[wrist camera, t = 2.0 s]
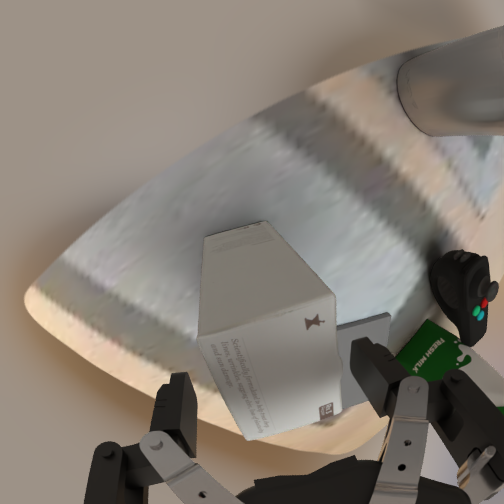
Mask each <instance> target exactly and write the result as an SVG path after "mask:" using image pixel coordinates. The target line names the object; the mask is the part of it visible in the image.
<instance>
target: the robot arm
mask: <svg viewBox="0 0 504 504" xmlns="http://www.w3.org/2000/svg"><path fill="white" fill-rule="evenodd" d="M397 86H398V93H399V96H400V100H401V103H402V105H403V107H404V110H405V111H406V113H407V115H408V116H409V118H410V119H411V120H412V122H413V123H414V124H415V125H416V126H417V127H418V128H419V129H420V130H421V131H423V132H424V133H426V134H428V135H431V136H436V137H443V136H476V135H499V136H504V26H500V27H497V28H493V29H490V30H487V31H484V32H480V33H477V34H475V35H472V36H469V37H466V38H463V39H460V40H457V41H455V42H452V43H450V44H447V45H444V46H442V47H439V48H437V49H435V50H432V51H430V52H427V53H425V54H422V55H420V56H418V57H416V58H413V59H411V60H409V61H407V62H406V63H404V64H403V65H402V67H401V68H400V70H399V73H398V79H397ZM350 370H351V373H352V375H353V377H354V378H355V380H356V381H357V383H358V384H359V386H360V387H361V389H362V391H363V392H364V394H365V395H366V397H367V398H368V400H369V402H370V403H371V405H372V406H373V408H374V410H375V411H376V413H377V414H378V416H379V417H380V418H381V417H384V416H386V415H388V416H389V418H390V419H389V422H388V426H387V430H386V434H385V438H384V441H383V445H382V448H381V451H380V454H379V457H378V460H377V461H374V460H357V459H356V457H355V455H353V456H351V457H347V458H344V459H341V460H338V461H336V462H332V463H330V464H328V465H326V466H324V467H322V468H320V469H318V470H317V471H315V472H313V473H311V474H308V475H292V476H291V475H290V476H275V477H269V478H263V479H257V480H254V483H255V486H252V487H250V488H248V489H246V490H244V491H242V492H241V493H239V494H238V495H237V496H234V495H233V494H231V493H230V492H229V491H228V490H227V489H225V488H224V487H223V486H222V485H221V484H220V483H218V482H217V481H216V480H215V479H214V478H213V477H212V476H211V475H210V474H209V473H208V472H206V471H205V470H204V469H203V468H202V467H201V466H200V465H199V464H197V463H194V462H193V461H192V460H191V459H190V458H196V440H197V438H196V437H197V406H198V405H197V397H196V393H195V391H194V388H193V385H192V383H191V380H190V377H189V375H188V373H187V372H181V373H172V374H171V378H170V383H169V384H163V385H162V386H161V388H160V389H159V390H158V392H157V396H156V401H155V406H154V407H155V408H154V411H153V416H152V421H151V426H150V431H149V433H147V434H145V435H144V436H143V437H142V439H141V440H140V443H138V444H134V445H130V446H126V447H121V446H120V445H119V444H117V443H115V442H111V441H110V442H109V441H108V442H104V443H101V444H100V445H99V446H97V448H96V449H95V451H94V455H93V460H92V463H91V468H90V473H89V477H88V483H87V488H86V494H85V499H84V504H148V489H149V485H154V484H158V483H162V482H166V484H167V485H168V486H169V487H170V488H171V490H172V491H173V492H174V493H175V494H176V495H177V496H178V498H180V500H181V501H182V502H183V503H184V504H479V503H480V502H482V501H483V500H488V499H490V498H491V497H493V496H494V495H495V494H497V493H498V492H499V491H500V490H501V489H502V488H504V415H503V414H502V413H501V411H500V410H499V409H498V408H497V407H496V406H495V404H494V403H493V402H492V401H491V400H490V399H489V398H488V397H487V395H486V394H485V393H484V392H483V391H482V390H481V389H480V388H479V387H478V386H477V384H476V383H475V382H474V381H473V380H472V379H471V378H470V377H469V376H468V375H467V374H466V373H465V372H464V371H462V370H460V369H450V370H448V371H446V372H445V373H444V375H443V378H442V379H440V380H435V381H429V382H427V381H426V380H425V379H423V378H421V377H418V376H411V375H410V374H409V373H408V371H407V370H406V369H405V368H404V367H403V366H402V365H401V364H400V362H399V361H398V360H397V359H396V358H395V357H394V356H393V355H392V354H391V352H390V351H389V350H388V349H387V348H386V347H385V346H383V345H381V344H379V343H375V344H373V343H372V341H371V340H370V339H369V338H368V337H367V336H365V337H362V338H358V339H355V340H352V342H351V352H350ZM429 423H431V425H432V426H433V428H434V429H435V430H436V432H437V434H438V435H439V437H440V438H441V440H442V442H443V443H444V445H445V446H446V448H447V449H448V451H449V452H450V454H451V456H452V457H453V459H454V460H455V462H456V463H457V465H458V467H459V470H458V472H457V480H458V482H457V483H458V486H459V487H456V486H453V485H449V484H445V483H442V482H438V481H434V480H431V479H428V478H425V477H422V476H420V473H421V469H422V464H423V458H424V453H425V447H426V439H427V433H428V424H429Z"/></svg>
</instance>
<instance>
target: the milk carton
mask: <svg viewBox="0 0 504 504" xmlns="http://www.w3.org/2000/svg"><path fill="white" fill-rule="evenodd" d="M395 358H396V359H397V360H398V361H399V362H400V364H401V365H402V366H403V367H404V368H405V369H406V370H407V371H408V373H409V374H410V375H411V376H418V377H421V378H423V379H425V380H426V381H427V382H429V381H435V380H440V379H442V378H443V375H444V373H445V372H446V371H448V370H450V369H460V370H462V371H464V372H465V373H466V374H467V375H468V376H469V377H470V378H471V379H472V380H473V381H474V382H475V383H476V384H477V386H478V387H479V388H480V389H481V390H482V391H483V392H484V393H485V394H486V395H487V397H488V398H489V399H490V400H491V401H492V402H493V403H494V404H495V406H496V407H497V408H498V409H499V410H500V411H501V413H502V414H503V415H504V378H503V377H502V376H501V375H500V374H499V373H498V372H497V371H496V370H495V369H494V368H493V367H492V366H491V365H490V364H489V363H488V362H486V361H485V360H484V359H483V358H482V357H481V356H480V355H478V354H477V353H476V352H475V351H474V350H473V349H471V348H470V347H468V346H467V345H465V344H463V343H462V342H461V340H460V339H459V338H458V337H457V336H455V335H454V334H452V333H450V332H449V331H447V330H445V329H444V328H442V327H440V326H438V325H437V324H435V323H433V322H432V321H430V320H428V319H427V320H426V322H425V323H424V324H423V325H422V327H421V328H420V329H419V330H418V332H417V333H416V334H415V335H414V336H413V338H412V339H411V340H410V341H409V342H408V344H407V345H406V346H405V347H404V348H403V349H402V351H401V352H400V353H399V354H398V355H397V356H396V357H395Z"/></svg>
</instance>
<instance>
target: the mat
mask: <svg viewBox="0 0 504 504" xmlns="http://www.w3.org/2000/svg"><path fill="white" fill-rule="evenodd" d="M390 322H391V315H390V314H389V313H384V314H381V315H377V316H374V317H370V318H367V319H363V320H359V321H356V322H352V323H348V324H344V325H340V326H337V340H338V353H339V356H340V357H341V359H342V362H343V374H342V377H341V380H340V385H341V400H342V409H345V408H348V407H351V406H354V405H357V404H360V403H363V402H366V401H369V400H368V398H367V397H366V395H365V394H364V392H363V391H362V389H361V387H360V386H359V384H358V383H357V381H356V380H355V378H354V377H353V375H352V373H351V370H350V352H351V342H352V340H355V339H358V338H362V337H365V336H367V337H368V338H369V339H370V340H371V341H372V343H373V344H375V343H379V344H381V345H383V346H385V347H386V348H387V343H388V337H389V330H390Z"/></svg>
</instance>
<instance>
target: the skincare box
mask: <svg viewBox="0 0 504 504" xmlns="http://www.w3.org/2000/svg"><path fill="white" fill-rule="evenodd" d="M196 340H197V342H198V344H199V347H200V349H201V352H202V354H203V356H204V358H205V361H206V363H207V365H208V368H209V370H210V372H211V374H212V376H213V379H214V381H215V383H216V385H217V387H218V389H219V391H220V393H221V395H222V397H223V399H224V401H225V403H226V405H227V407H228V409H229V411H230V413H231V415H232V416H233V418H234V420H235V422H236V424H237V426H238V427H239V429H240V431H241V432H242V434H243V436H244V437H245V439H246V440H248V441H250V440H254V439H260V438H264V437H268V436H272V435H276V434H279V433H282V432H286V431H289V430H293V429H296V428H299V427H302V426H305V425H308V424H311V423H314V422H317V421H320V420H322V419H325V418H328V417H330V416H333V415H336V414H338V413H340V412H341V411H342V400H341V385H340V380H341V377H342V374H343V362H342V359H341V357H340V356H339V353H338V340H337V326H336V296H335V294H334V293H333V292H332V291H331V290H330V289H329V288H328V286H327V285H326V284H325V283H324V282H323V281H322V280H321V279H320V278H319V277H318V275H317V274H316V273H315V272H314V271H313V270H312V269H311V268H310V267H309V266H308V265H307V263H306V262H305V261H304V260H303V259H302V258H301V257H300V256H299V255H298V254H297V253H296V252H295V251H294V249H293V248H292V247H291V246H290V245H289V244H288V243H287V242H286V241H285V240H284V239H283V238H282V236H281V235H280V234H279V233H278V232H277V231H276V230H275V229H274V228H273V227H272V226H271V225H270V224H269V223H268V222H267V221H263V222H259V223H255V224H251V225H248V226H244V227H240V228H236V229H233V230H229V231H225V232H222V233H218V234H214V235H211V236H207V237H205V238H204V245H203V257H202V271H201V287H200V304H199V320H198V335H197V338H196Z"/></svg>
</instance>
